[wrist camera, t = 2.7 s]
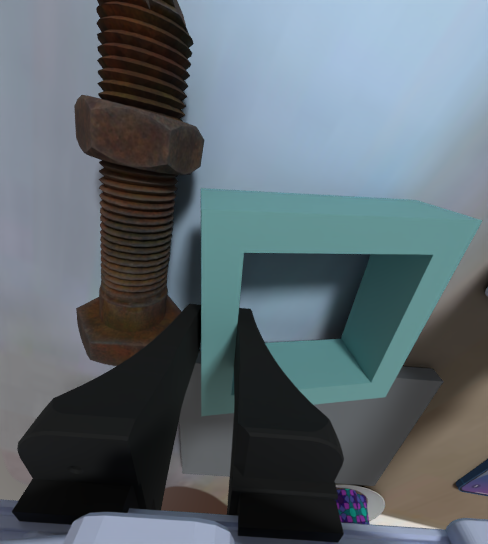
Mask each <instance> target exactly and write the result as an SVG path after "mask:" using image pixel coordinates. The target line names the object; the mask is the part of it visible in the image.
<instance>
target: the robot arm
mask: <svg viewBox="0 0 488 544" xmlns="http://www.w3.org/2000/svg"><path fill="white" fill-rule="evenodd" d="M485 295H486V296H488V287H487V288H486V291H485ZM200 342H201V305H196V304H189V305H187V306H186V308H185V309H184V310H183V311H182V312H181V313H180V314H179V315H178V317H177V318H176V319H175V320H174V321H173V322H172V323H171V324H170V325H169V326H168V327H167V328H166V329H165V330H164V331H163V332H161V333H160V334H159V335H158V336H157V337H156V338H155V339H154V340H152V341H151V342H150V343H149V344H148V345H146V346H145V347H144V348H143V349H141V350H140V351H139V352H137V353H136V354H135V355H133V356H132V357H130V358H129V359H127V360H126V361H124V362H123V363H121V364H119V365H118V366H116V367H115V368H113V369H111V370H110V371H108V372H106V373H104V374H103V375H101V376H99V377H97V378H95V379H93V380H91V381H90V382H88V383H86V384H84V385H82V386H79V387H77V388H75V389H73V390H71V391H69V392H66V393H64V394H62V395H60V396H58V397H55V398H53V399H52V401H51V402H50V403H49V404H48V405H47V406H46V407H45V409H44V410H43V411H42V412H41V414H40V415H39V416H38V417H37V419H36V420H35V421H34V423H33V424H32V425H31V427H30V428H29V429H28V431H27V432H26V433H25V434H24V436H23V437H22V438H21V440H20V441H19V442H18V448H17V449H18V453H19V456H20V458H21V460H22V461H23V463H24V465H25V466H26V468H27V470H28V471H29V473H30V474H31V476H32V478H33V479H32V481H31V482H30V484H29V486H28V487H27V489H26V490H25V492H24V493H23V495H22V496H21V498H20V499H19V501H14V500H0V544H488V520H486V519H472V518H461V519H457V520H454V521H452V522H451V523H450V524H449V525H448V526H447V528H446V530H442V529H427V528H412V527H398V526H383V525H368V524H354V523H341V520H340V516H339V511H338V507H337V503H336V500H337V499H338V493H337V489H336V485H335V479H336V477H337V475H338V473H339V471H340V469H341V467H342V465H343V462H344V456H343V452H342V448H341V445H340V442H339V439H338V437H337V435H336V432H335V430H334V428H333V426H332V423H331V421H330V419H329V418H328V417H327V416H325V415H324V414H323V413H322V412H321V411H320V410H319V409H318V408H316V407H315V406H314V405H313V404H312V403H311V402H310V401H309V400H308V399H307V398H306V397H305V396H304V395H303V394H302V393H301V392H300V391H299V390H298V388H297V387H296V386H295V385H294V384H293V383H292V382H291V380H290V379H289V378H288V377H287V376H286V374H285V373H284V372H283V370H282V369H281V368H280V366H279V365H278V363H277V362H276V361H275V359H274V358H273V356H272V354H271V353H270V351H269V349H268V348H267V346H266V344H265V342H264V340H263V338H262V336H261V334H260V332H259V330H258V328H257V325H256V323H255V320H254V317H253V314H252V311H251V309H245V308H239V313H238V325H237V336H236V347H235V358H234V421H233V436H232V451H231V466H230V480H229V494H228V508H227V515H221V514H206V513H191V512H176V511H162V510H161V506H162V501H163V495H164V490H165V485H166V480H167V475H168V470H169V465H170V460H171V455H172V450H173V445H174V440H175V436H176V431H177V426H178V422H179V417H180V413H181V408H182V404H183V401H184V397H185V394H186V391H187V388H188V385H189V382H190V378H191V375H192V372H193V369H194V366H195V363H196V360H197V357H198V352H199V347H200Z"/></svg>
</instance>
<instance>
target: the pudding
mask: <svg viewBox="0 0 488 544" xmlns="http://www.w3.org/2000/svg"><path fill="white" fill-rule="evenodd" d="M336 488H349V489H340V490H337V493H338V499H337V500H336V503H337V507H338V511H339V516H340V520H341V523H354V524H368V525H370V524H369V521H371V520H373V519H375V518H376V517H377V516H379V515H380V514H381V513H382V511H383V510H384V508H385V501H384V499H383V498H382V497H381V495H379V494H378V493H376V492H375V491H372V490H370V489H367V488H364V487H360V486H354V485H344V484H337V485H336ZM351 489H353V490H351ZM354 490H357V491H359V492H361V493H363V494H364V495H365V496H366V497H367V499H368V504H367V502H366V497H365V496H364V495H360V494H356V492H355V491H354Z"/></svg>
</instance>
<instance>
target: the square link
mask: <svg viewBox="0 0 488 544" xmlns="http://www.w3.org/2000/svg"><path fill="white" fill-rule="evenodd" d="M481 222H482V220H479V219H475V218H472V217H469V216H466V215H463V214H459V213H456V212H453V211H450V210H446V209H443V208H440V207H437V206H433V205H430V204H427V203H424V202H420V201H417V200H404V199H386V198H367V197H349V196H331V195H313V194H294V193H276V192H258V191H240V190H221V189H203V188H201V416H209V415H219V414H228V413H234V358H235V347H236V336H237V325H238V313H239V302H240V291H241V280H242V268H243V257H244V253H322V254H371V255H370V258H369V261H368V264H367V267H366V270H365V272H364V275H363V278H362V281H361V284H360V286H359V289H358V292H357V295H356V298H355V301H354V303H353V306H352V309H351V312H350V315H349V317H348V320H347V323H346V326H345V329H344V331H343V334H342V337H341V339H329V340H311V341H293V342H275V343H265V344H266V346H267V348H268V349H269V351H270V353H271V354H272V356H273V358H274V359H275V361H276V362H277V363H278V365H279V366H280V368H281V369H282V370H283V372H284V373H285V374H286V376H287V377H288V378H289V379H290V380H291V382H292V383H293V384H294V385H295V386H296V387H297V388H298V390H299V391H300V392H301V393H302V394H303V395H304V396H305V397H306V398H307V399H308V400H309V401H310V402H311V403H312V404H313V405H315V404H325V403H334V402H344V401H354V400H363V399H373V398H383V397H386V395H387V393H388V391H389V390H390V388H391V386H392V384H393V382H394V380H395V379H396V377H397V375H398V373H399V371H400V370H401V368H402V366H403V364H404V362H405V360H406V359H407V357H408V355H409V353H410V351H411V350H412V348H413V346H414V344H415V342H416V340H417V339H418V337H419V335H420V333H421V331H422V330H423V328H424V326H425V324H426V322H427V320H428V319H429V317H430V315H431V313H432V311H433V310H434V308H435V306H436V304H437V302H438V300H439V299H440V297H441V295H442V293H443V291H444V290H445V288H446V286H447V284H448V282H449V280H450V279H451V277H452V275H453V273H454V271H455V270H456V268H457V266H458V264H459V262H460V260H461V259H462V257H463V255H464V253H465V251H466V250H467V248H468V246H469V244H470V242H471V240H472V239H473V237H474V235H475V233H476V231H477V230H478V228H479V226H480V224H481Z"/></svg>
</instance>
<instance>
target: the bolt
mask: <svg viewBox="0 0 488 544" xmlns="http://www.w3.org/2000/svg"><path fill="white" fill-rule="evenodd" d="M97 1H98V3H99V6H98V7H97V9H96V10H97V13H98V15H99V17H100V19H99V20H98V22H97V25H98V27H99V28H100V30H101V33H98V34H97V36H98V40H99V41H100V42H101V44H102V45H100V46H98V51H99V53H100V54H101V55H102V57H101V58H99V59H98V60H97V61H98V62H99V64H100V65H101V66H102V68H103V69H101V70H99V71H98V74H99V75H100V76H101V78H102V79H103V81H101V82H99V83H98V85H99V86H100V87H101V88H102V90H103V91H104V92H101V93H99V94H98V95H99V96H100V98H101V99H99V98H95V97H91V96H85V95H81V96H80V97H79V98H78V99H77V102H76V104H75V124H76V138H77V141H78V143H79V146H80V147H81V149H82V151H83V152H84V153H86V154H87V155H89V156H92V157H95V158H97V159H100V160H102V161H100V162H99V163H100V164H101V165H102V166H103V167H104V168H103V169H101V170H99V172H100V173H101V174H103V175H104V177H102V178H100V179H99V180H100V181H101V182H102V183H103V185H101V186H100V189H101V190H102V191H103V193H101V194H100V197H101V199H102V201H101V202H100V205H101V206H102V208H101V210H100V213H101V214H102V215H101V217H100V220H101V221H102V222H101V224H100V227H101V229H102V230H101V231H100V233H101V239H100V240H101V242H102V243H101V249H102V250H101V255H102V256H101V261H102V263H101V267H102V268H101V279H102V280H101V286H100V290H99V297H98V298H96V299H94V300H92V301H90V302H88V303H86V304H84V305H82V306H80V307H78V308H76V310H77V322H78V328H79V332H80V336H81V339H82V343H83V345H84V348H85V350H86V353H87V355H88V357H89V358H90V360H93V361H96V362H100V363H103V364H108V365H113V366H118V365H119V364H121V363H123V362H124V361H126V360H127V359H129V358H130V357H132V356H133V355H135V354H136V353H137V352H139V351H140V350H141V349H143V348H144V347H145V346H146V345H148V344H149V343H150V342H151V341H152V340H154V339H155V338H156V337H157V336H158V335H159V334H160V333H161V332H163V331H164V330H165V329H166V328H167V327H168V326H169V325H170V324H171V323H172V322H173V321H174V320H175V319H176V318H177V317H178V315H179V314H180V313H181V312H182V311H181V310H180V309H179V308H178V307H177V306H176V304H175V303H174V302H173V301H172V300H171V298H170V297H169V296H168V295H167V291H168V289H167V286H166V283H167V269H168V263H169V256H170V245H171V238H172V234H171V233H172V231H173V228H172V226H173V219H174V214H173V212H174V207H173V206H174V205H175V201H174V200H173V199H174V198H176V194H175V193H174V192H175V191H176V190H177V187H176V186H175V184H177V183H178V180H177V179H176V178H175V177H176V176H178V175H189V174H191V173H192V172H193V171H195V170H196V169H198V168H199V167H200V166H201V159H202V152H203V145H204V139H203V137H202V135H201V134H200V132H199V130H198V129H197V127H195V126H193V125H190V124H188V123H185V122H182V121H181V119H180V118H182V117H183V116H185V114H184V113H183V112H182V111H181V109H183V108H184V107H186V105H185V104H184V103H183V102H182V100H183V99H185V98H186V97H187V96H186V95H185V93H184V92H183V91H184V90H185V89H186V88H187V87H188V85H187V84H186V82H185V81H184V80H186V79H187V78H188V77H189V76H190V75H189V74H188V72H187V71H186V69H188V68H189V67H190V66H191V63H190V62H189V61H188V58H189V57H191V55H192V52H191V51H190V49H189V47H190V46H192V45H193V40H192V38H191V37H190V36H189V33H188V31H187V28H186V24H185V20H184V16H183V14H182V11H181V9H180V6H179V4H178V1H177V0H97Z"/></svg>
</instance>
